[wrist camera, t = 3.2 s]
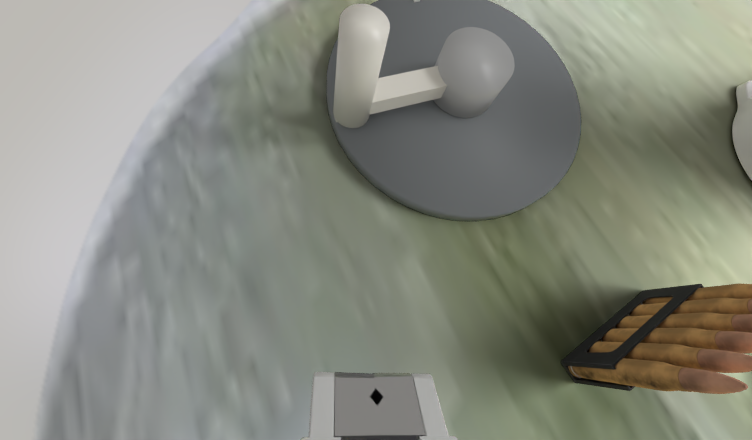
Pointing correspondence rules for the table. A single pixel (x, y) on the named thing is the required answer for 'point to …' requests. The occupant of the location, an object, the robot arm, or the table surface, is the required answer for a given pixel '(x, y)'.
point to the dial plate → (466, 120)
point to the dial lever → (439, 83)
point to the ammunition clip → (671, 342)
